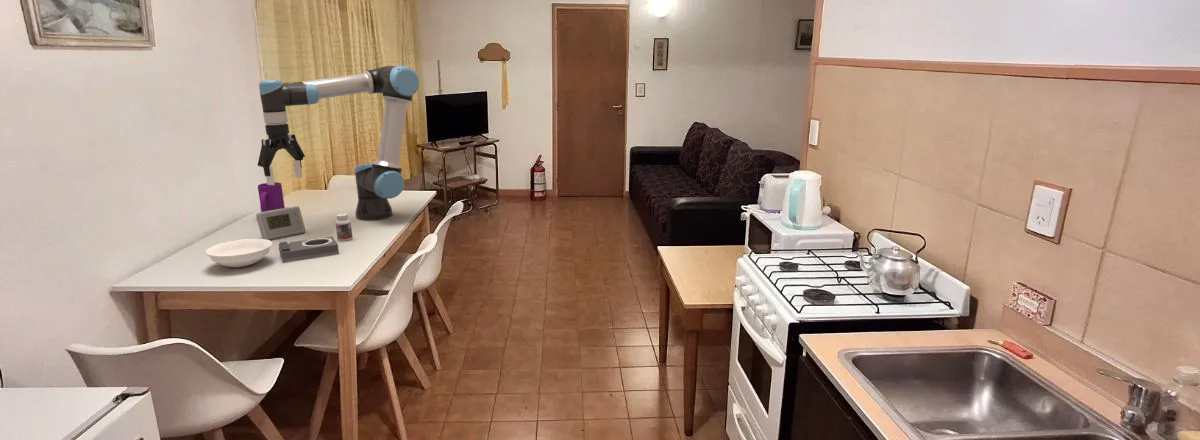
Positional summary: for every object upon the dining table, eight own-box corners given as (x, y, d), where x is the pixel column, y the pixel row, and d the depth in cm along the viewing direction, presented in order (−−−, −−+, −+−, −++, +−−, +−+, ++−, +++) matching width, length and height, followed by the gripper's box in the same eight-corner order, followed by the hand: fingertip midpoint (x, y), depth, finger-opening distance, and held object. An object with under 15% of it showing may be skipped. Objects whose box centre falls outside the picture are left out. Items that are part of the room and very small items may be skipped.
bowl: (204, 278, 203) (200, 259, 201) (212, 260, 220) (209, 242, 219) (273, 269, 210) (270, 251, 209) (276, 252, 228) (273, 235, 226)
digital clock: (261, 242, 241) (257, 215, 238) (258, 236, 248) (254, 210, 245) (307, 235, 249) (303, 209, 247) (303, 230, 257) (300, 204, 254)
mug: (289, 215, 281) (284, 181, 277) (276, 224, 266) (271, 189, 262) (267, 216, 279) (262, 182, 276) (253, 225, 265) (247, 190, 261)
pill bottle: (335, 241, 240) (332, 216, 238) (340, 237, 246) (337, 212, 243) (350, 241, 241) (347, 216, 238) (354, 237, 246) (351, 212, 243)
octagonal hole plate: (333, 245, 236) (332, 234, 235) (338, 253, 226) (337, 242, 225) (279, 253, 227) (278, 241, 226) (282, 262, 217) (281, 250, 216)
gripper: (293, 119, 244) (301, 174, 250) (240, 127, 221) (250, 187, 227) (309, 119, 242) (317, 174, 247) (257, 128, 219) (267, 188, 224)
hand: (285, 181), depth 237 cm, fingers open, 13 cm apart
